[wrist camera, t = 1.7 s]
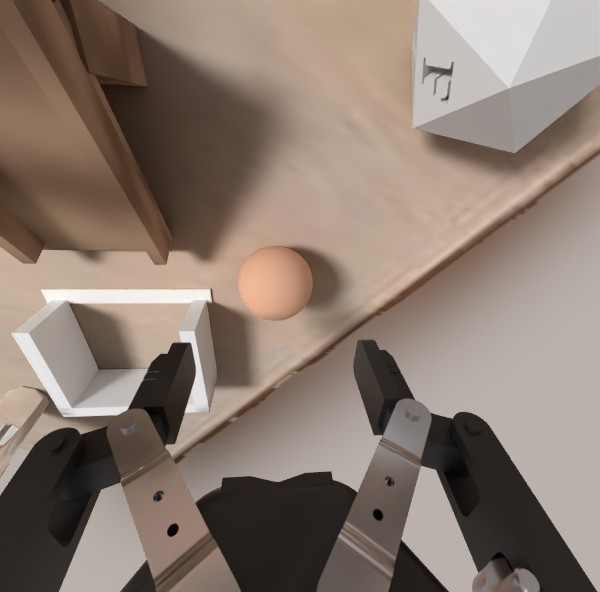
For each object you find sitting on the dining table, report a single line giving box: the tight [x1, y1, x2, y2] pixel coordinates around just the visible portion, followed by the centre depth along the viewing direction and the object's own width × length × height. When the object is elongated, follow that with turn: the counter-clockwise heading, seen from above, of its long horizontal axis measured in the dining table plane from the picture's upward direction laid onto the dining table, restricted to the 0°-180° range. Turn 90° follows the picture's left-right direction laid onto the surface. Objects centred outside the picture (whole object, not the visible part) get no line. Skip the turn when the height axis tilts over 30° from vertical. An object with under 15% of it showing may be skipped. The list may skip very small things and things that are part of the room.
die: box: [412, 0, 600, 153], centre depth 12 cm, size 8×9×10 cm
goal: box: [12, 300, 218, 417], centre depth 22 cm, size 8×11×4 cm
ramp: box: [0, 0, 174, 265], centre depth 13 cm, size 12×8×9 cm
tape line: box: [41, 289, 212, 303], centre depth 22 cm, size 1×12×1 cm, turn 87°
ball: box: [238, 246, 313, 321], centre depth 19 cm, size 5×5×5 cm
